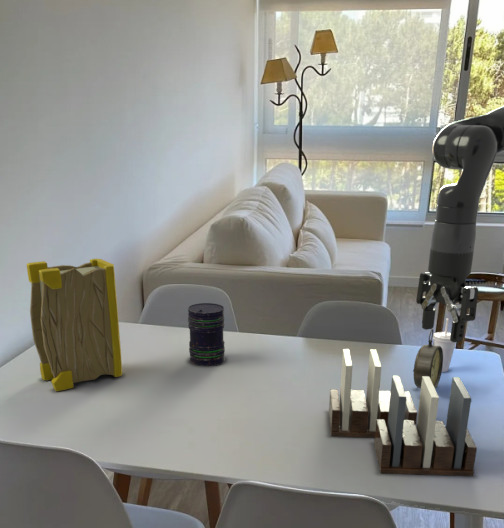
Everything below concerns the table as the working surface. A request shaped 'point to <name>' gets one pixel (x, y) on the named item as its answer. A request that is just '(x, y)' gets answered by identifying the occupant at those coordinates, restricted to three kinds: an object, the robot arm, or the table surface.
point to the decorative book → (75, 321)
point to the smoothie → (445, 346)
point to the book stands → (410, 437)
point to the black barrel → (206, 334)
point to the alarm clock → (428, 363)
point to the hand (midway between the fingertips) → (441, 334)
